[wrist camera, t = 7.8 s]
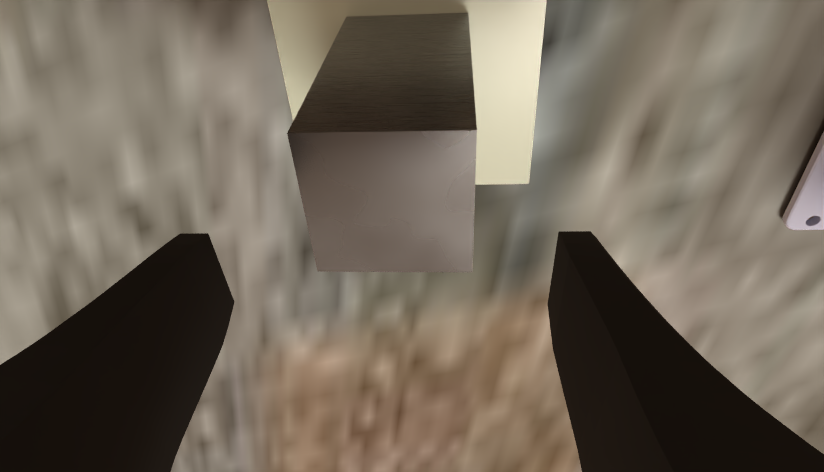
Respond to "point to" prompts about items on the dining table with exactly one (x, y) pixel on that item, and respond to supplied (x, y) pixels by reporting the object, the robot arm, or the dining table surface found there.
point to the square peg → (391, 146)
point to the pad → (491, 63)
